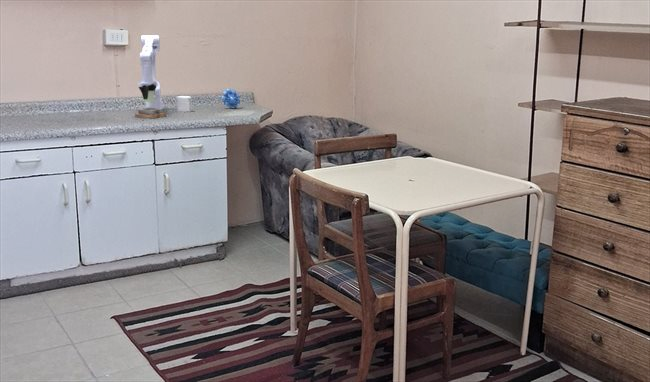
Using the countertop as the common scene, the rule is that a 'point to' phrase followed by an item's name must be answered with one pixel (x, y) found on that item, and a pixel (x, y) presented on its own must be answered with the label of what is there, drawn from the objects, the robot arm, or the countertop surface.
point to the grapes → (231, 98)
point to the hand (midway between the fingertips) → (148, 98)
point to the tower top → (151, 111)
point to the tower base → (150, 115)
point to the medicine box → (184, 104)
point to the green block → (149, 97)
